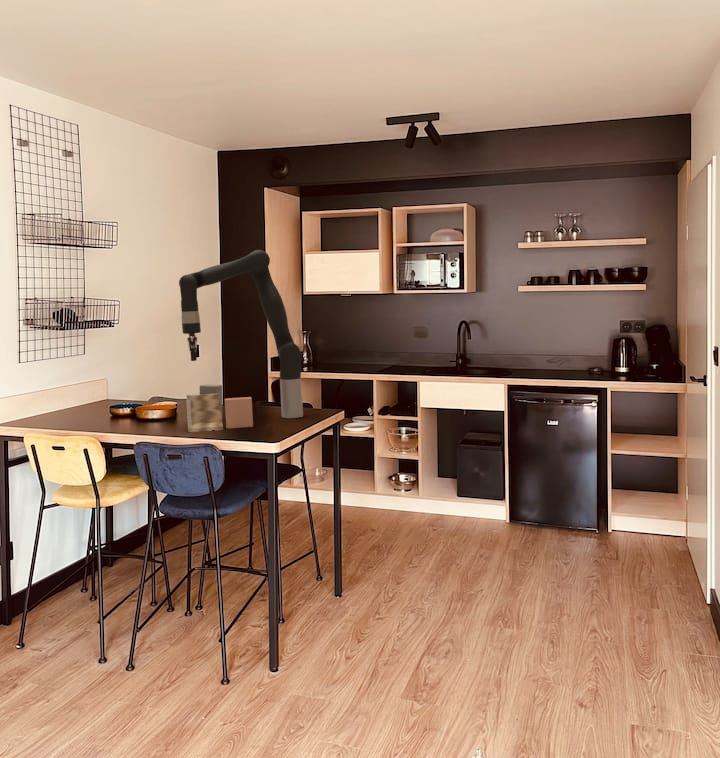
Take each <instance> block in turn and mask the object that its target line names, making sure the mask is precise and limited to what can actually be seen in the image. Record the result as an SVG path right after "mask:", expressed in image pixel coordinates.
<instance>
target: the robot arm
mask: <svg viewBox="0 0 720 758" xmlns="http://www.w3.org/2000/svg"><path fill="white" fill-rule="evenodd" d="M270 259H271V258H270V256H269V254H268V253H267V252H266V251H264V250H262V249H255V250H253V251H252V252H250V253H248V254H247V255H245V256H243V257H241V258H238V259H236V260H233V261H229V262H225V263H221V264H216V265H213V266H210V267H207V268H204V269H202V270H199V271H195V272H192V273H188V274H184V275H182V276H181V277H180V278H179V280H178V284H179V285H178V286H179V290H180V298H181V299H180V308H181V329H182V334H185V335H188V337H187V343H188V344H187V345H188V348H189V350H188V351H189V352H190V361H191V362H195V361H197V357H198V356H197V348H198V337H197V336H196V334H200V333H201V332H202V329H201V317H200V313H199V303H198V302H199V301H198V289H199V288H202V287H206V286H211V285H213V284H218V283H221V282H223V281H226V280H229V279H231V278H234V277H236V276H240V275H242V274H247V273H250V274H251V275H252V278H253V279H254V283H255V285H256V288H257V292H258V298H259V301H260V303H261V307H262V310H263V313H264V316H265V319H266V322H267V323H268V326H269V328H270V330H271V332H272V335H273V338H274V342H275V347H276V352H277V355H278V357H279V360H280V361H279V364H280V365H279V366H280V369H279V387H280V388H279V389H280V405H281V406H280V407H281V408H280V409H281V410H280V411H281V412H280V413H281V418H284V419H296V418H297V419H298V418H303V417H304V407H303V406H304V405H303V402H304V401H303V395H302V379H301V378H302V377H301V376H302V375H301V373H302V357H301V356H302V353H301V349H300V347H299V346H298V345H297V344H295V342H294V340H293V338H292V337H293V336H292V335H291V332H290V329H289V321H288V316H287V311H286V307H285V304H284V302H283V299H282V296H281V294H280V293H279V292H280V291H279V290H278V288H277V286H276V285H275V283H274V281H273V278H272V275H271V271H270V268H269V267H270V263H271V261H270Z"/></svg>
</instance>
